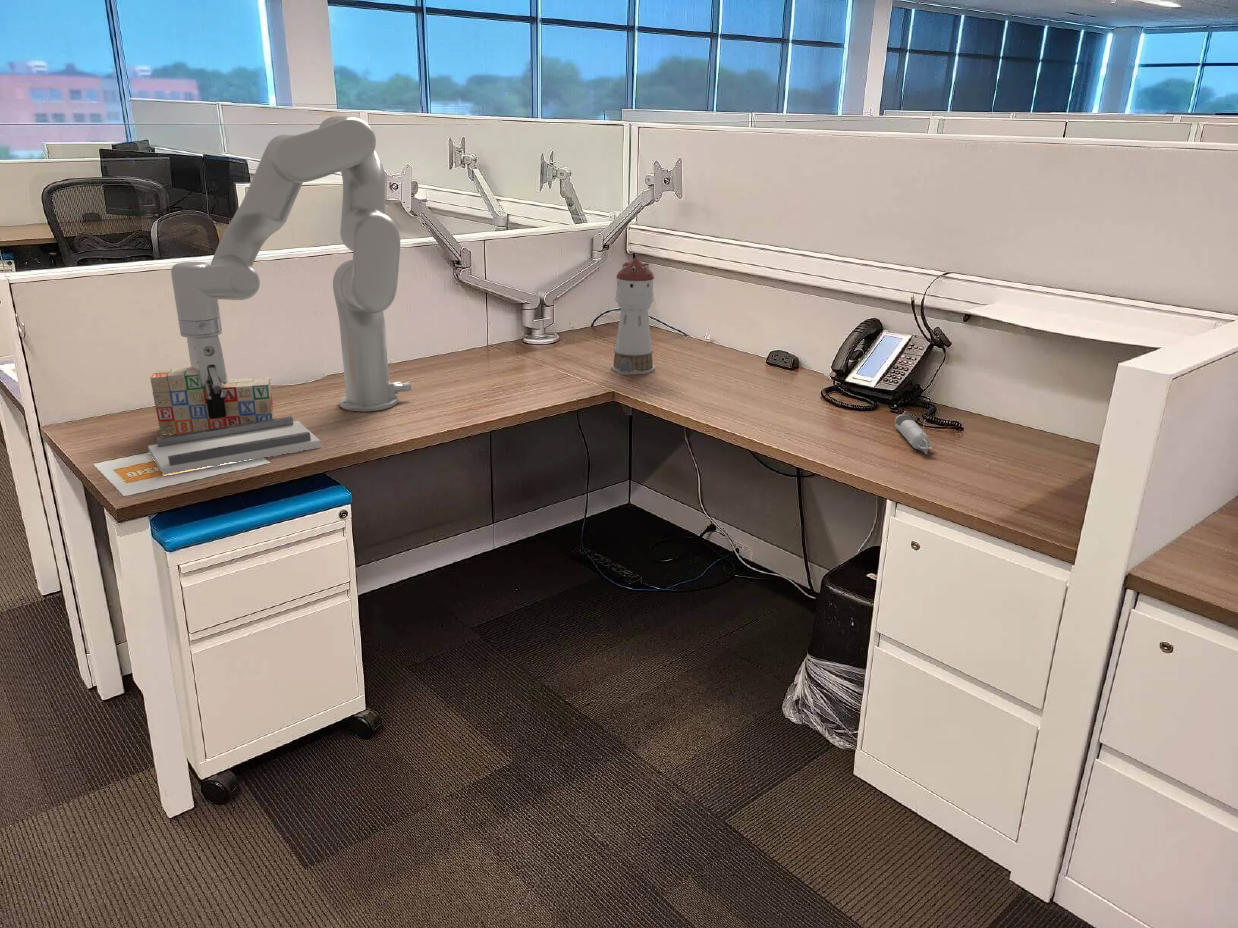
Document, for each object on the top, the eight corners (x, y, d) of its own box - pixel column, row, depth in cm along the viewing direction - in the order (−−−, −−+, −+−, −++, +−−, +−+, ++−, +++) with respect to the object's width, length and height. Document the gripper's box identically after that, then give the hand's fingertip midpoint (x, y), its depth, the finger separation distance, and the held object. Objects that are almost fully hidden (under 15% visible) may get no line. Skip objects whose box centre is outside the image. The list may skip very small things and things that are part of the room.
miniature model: (655, 364, 237) (660, 249, 226) (652, 376, 226) (657, 255, 215) (614, 362, 238) (616, 247, 227) (608, 374, 227) (610, 254, 216)
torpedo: (888, 427, 193) (892, 398, 190) (910, 428, 193) (914, 399, 191) (914, 457, 176) (919, 426, 174) (938, 458, 176) (943, 426, 174)
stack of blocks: (275, 418, 190) (268, 362, 185) (273, 428, 184) (266, 370, 179) (165, 426, 184) (154, 368, 179) (159, 436, 178) (149, 376, 174)
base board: (298, 427, 184) (297, 413, 183) (320, 447, 174) (319, 433, 173) (149, 453, 169) (146, 438, 168) (163, 476, 159) (160, 461, 158)
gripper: (231, 333, 171) (243, 420, 178) (210, 316, 185) (222, 398, 191) (189, 337, 167) (202, 426, 174) (171, 320, 181) (184, 403, 187)
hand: (213, 411), depth 182 cm, fingers closed on stack of blocks, 7 cm apart
